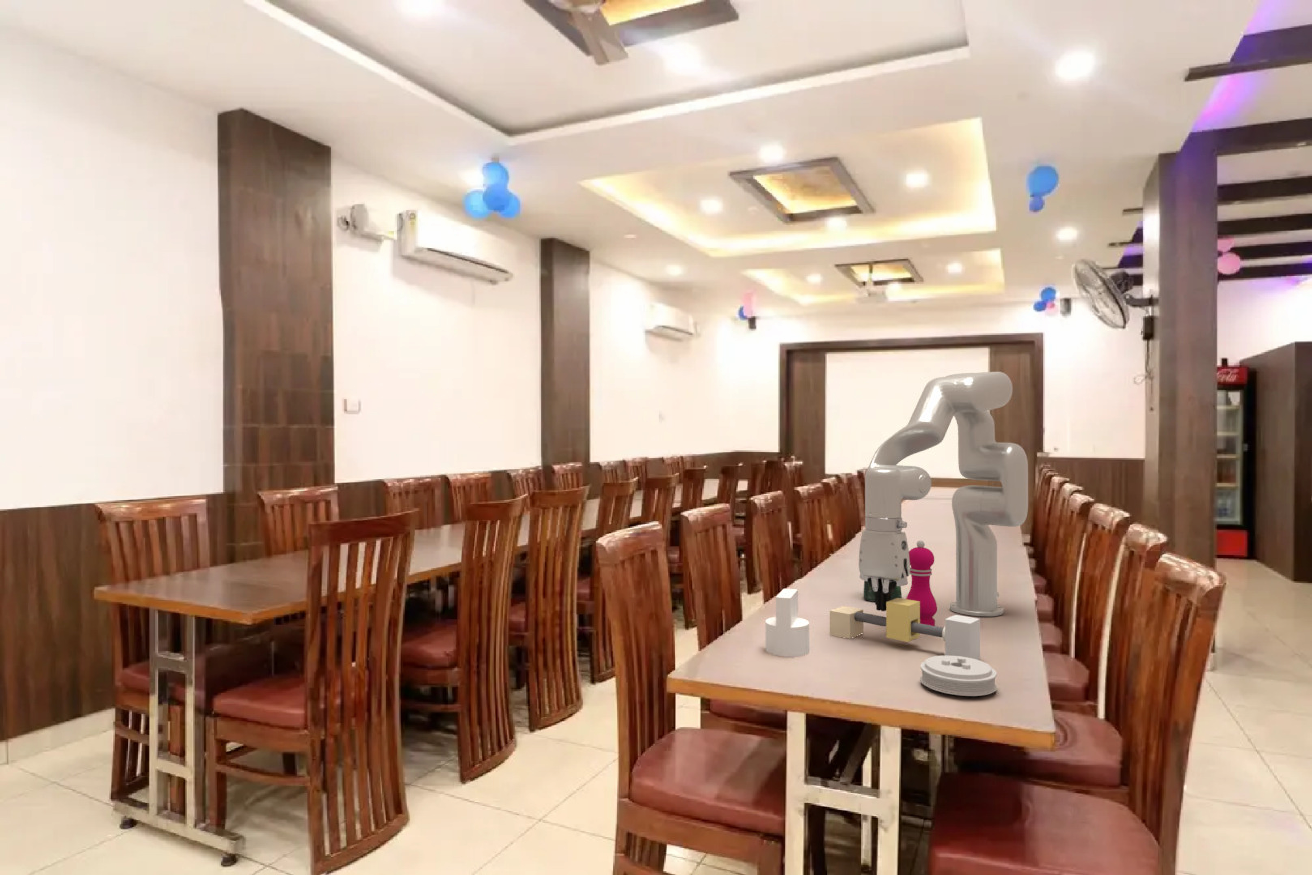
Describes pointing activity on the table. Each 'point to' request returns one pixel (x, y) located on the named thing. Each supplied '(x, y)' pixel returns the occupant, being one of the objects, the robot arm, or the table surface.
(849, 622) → the slider rail
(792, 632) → the base with upright slab
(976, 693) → the lid
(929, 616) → the pepper mill
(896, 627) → the pale yellow upright block
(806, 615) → the table surface
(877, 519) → the robot arm
